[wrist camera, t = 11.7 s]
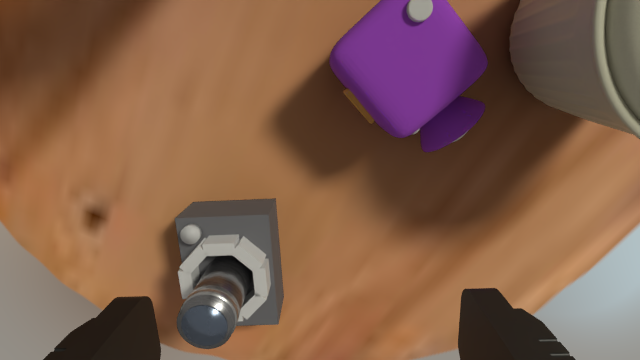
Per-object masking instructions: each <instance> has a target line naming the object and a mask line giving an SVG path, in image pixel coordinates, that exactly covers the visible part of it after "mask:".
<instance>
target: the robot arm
mask: <svg viewBox="0 0 640 360" xmlns="http://www.w3.org/2000/svg"><path fill="white" fill-rule="evenodd" d="M458 348H459V354H460V360H575V358H574V357H573V356H570V355H569V352H568V351H567V349H566V348H565V347H564V346H563V345H562V344H561V343H560V342H558V341H557V338H556V337H555V336H554V335H553V334H552V333H551V331H550V330H549V329H548V328H547V327H546V326H545V324H544V323H543V322H542V321H540V320H538V319H537V318H535V317H534V316H532V315H531V314H529V313H528V312H526V311H525V310H523V309H522V308H521V309H513V308H512V306H511V305H510V304H509V303H508V301H507V300H506V299H505V298H504V297H503V295H502V294H501V293H500V292H499V291H498V290H497V289H496V288H483V289H464V290H463V292H462V296H461V308H460V322H459V336H458ZM160 353H161V347H160V341H159V336H158V330H157V325H156V319H155V314H154V309H153V304H152V301H151V299H150V298H149V297H147V296H142V297H117V298H115V299H114V300H113V301H112V302H111V303H110V304H109V305H108V306H107V307H106V308H105V309H104V310H103V311H102V312H101V313H100V314H99V315H98V316H97V317H96V318H92V319H91V320H89V321H88V322H86V323H84V324H83V325H81V326H80V327H78V328H76V329H75V330H73V331H72V332H70V334H68V335H67V336H66V337H65V338H64V339H63V340H62V341H61V342H60V344H58V345H57V346H56V347H55V350H54V352H50V354H48V356H46V357H45V358H44V359H43V360H160V355H161V354H160Z"/></svg>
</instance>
